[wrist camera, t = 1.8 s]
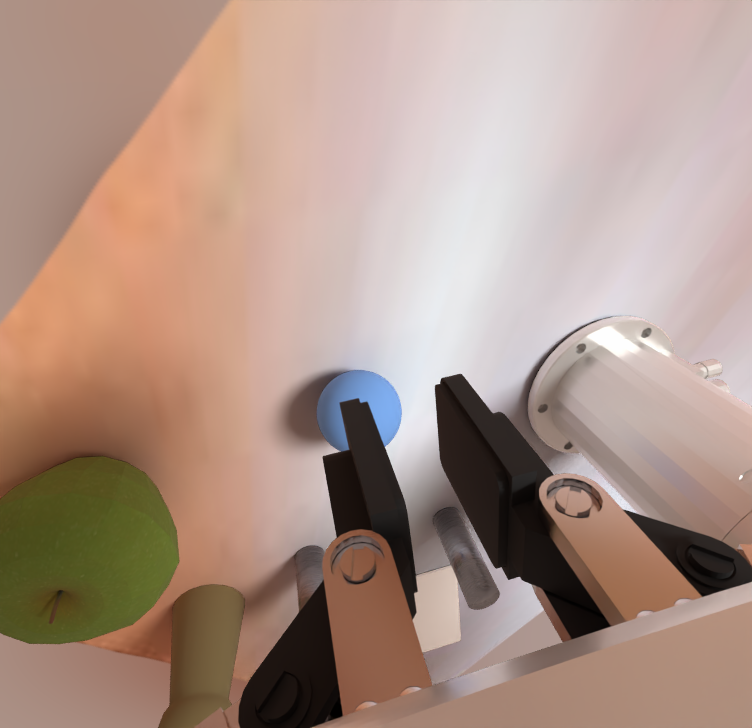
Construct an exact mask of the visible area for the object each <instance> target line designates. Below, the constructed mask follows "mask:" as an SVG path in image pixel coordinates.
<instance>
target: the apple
mask: <svg viewBox="0 0 752 728" xmlns="http://www.w3.org/2000/svg"><path fill="white" fill-rule="evenodd" d="M178 563H179V552H178V540H177V530H176V527H175V525H174V522H173V520H172V517H171V515H170V512H169V510H168V508H167V506H166V504H165V502H164V500H163V498H162V496H161V494H160V492H159V490H158V488H157V487H156V485H155V484H154V483H153V482H152V481H151V479H150V478H149V477H148V476H147V475H146V473H144V472H142V471H141V470H139V469H137V468H135V467H134V466H132V465H130V464H128V463H127V462H123V461H119V460H115V459H112V458H108V457H104V456H98V457H82V458H75V459H73V460H70V461H67V462H65V463H62V464H60V465H57V466H55V467H53V468H51V469H49V470H47V471H45V472H43V473H41V474H39V475H37V476H35V477H33V478H31V479H29V480H27V481H25V482H23V483H21V484H19V485H17V486H16V487H14V488H13V489H12V490H11V491H9V492H8V493H7V494H6V495H4V496H3V497H2V498H1V499H0V633H2V634H3V635H6V636H9V637H12V638H14V639H17V640H20V641H23V642H26V643H29V644H63V643H70V642H78V641H85V640H89V639H92V638H95V637H98V636H101V635H104V634H107V633H110V632H113V631H116V630H118V629H121V628H124V627H127V626H130V625H133V624H134V623H135V622H136V621H137V620H138V619H139V618H141V617H142V616H143V615H144V614H145V613H146V612H147V611H149V610H150V609H151V608H152V607H153V606H154V605H155V603H156V602H157V600H158V599H159V598H160V596H161V595H162V594H163V592H164V591H165V589H166V588H167V587H168V585H169V583H170V581H171V579H172V577H173V574H174V572H175V570H176V568H177V565H178Z"/></svg>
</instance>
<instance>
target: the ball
mask: <svg viewBox="0 0 752 728" xmlns="http://www.w3.org/2000/svg"><path fill="white" fill-rule="evenodd" d="M356 398H359V400H360V403H362V402H366V401H367V402H368V404H369V406H370V409H371V412H372V414H373V417H374V420H375V422H376V425H377V428H378V431H379V433H380V436H381V439H382V441H383V444H384V447H385V446H386V445H388V444H389V443H390V442H391V440H392V439H393V438H394V436H395V435H396V433H397V431H398V429H399V426H400V422H401V415H402V410H401V403H400V400H399V397H398V394H397V393H396V391H395V389H394V388H393V386H392V385H391V384H390V383H389V382H388V381H387V380H386V379H384V378H383V377H381V376H380V375H378V374H376V373H373V372H370V371H364V370H354V371H349V372H345V373H343V374H341V375H339V376H337V377H336V378H334V379H333V380H332V381H331V382H329V384H328V385H327V386H326V387H325V388H324V390H323V391H322V393H321V396H320V398H319V401H318V405H317V421H318V425H319V428H320V431H321V433H322V434H323V436H324V438H325V439H326V440H327V441H328V442H329V443H330V444H331V445H332V446H333V447H334V448H336V449H337V450H339V451H341V452H342V451H346V450H349V447H348V442H347V438H346V433H345V428H344V423H343V418H342V414H341V409H340V404H339V402H343V401H347V400H352V399H356Z"/></svg>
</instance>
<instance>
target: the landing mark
mask: <svg viewBox="0 0 752 728" xmlns="http://www.w3.org/2000/svg"><path fill="white" fill-rule="evenodd" d="M416 581H417V588H418V592H416V593H414V597H415V604H416V611H417V613H416V615H415V616H414V618H413V623H414V627H415V630H416V633H417V636H418V640H419V643H420V646H421V650H422V653H424V652H427V651H430V650H433V649H436V648H440V647H443V646H446V645H449V644H452V643H455V642H458V641H461V632H460V615H459V597H458V580H457V578H456V576H455V573H454V571H453V569H452V566H451V565H450V566H446V567H443V568H439V569H436V570H433V571H429V572H426V573H422V574H419V575H416Z"/></svg>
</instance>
